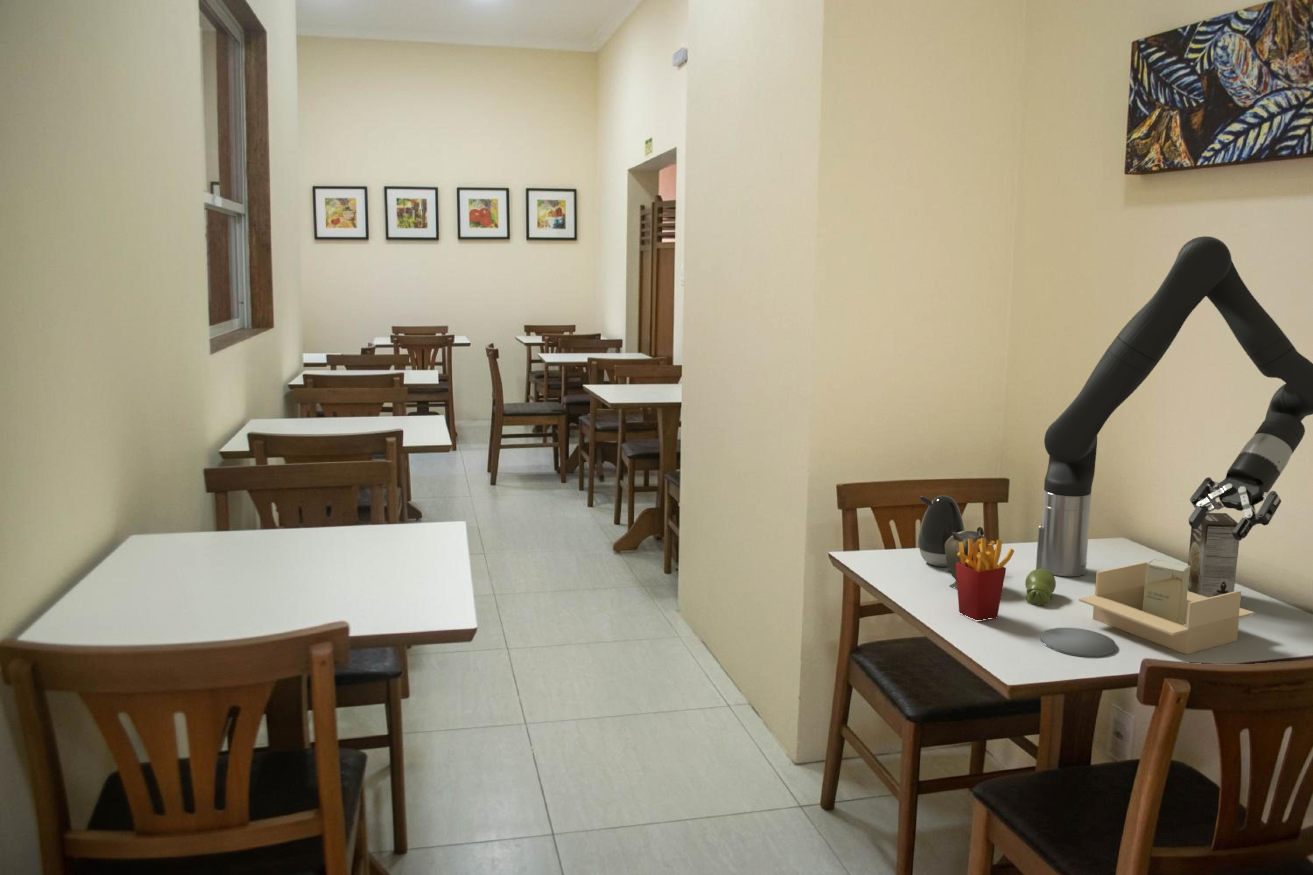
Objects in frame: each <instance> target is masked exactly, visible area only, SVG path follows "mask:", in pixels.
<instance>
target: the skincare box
mask: <svg viewBox="0 0 1313 875" xmlns="http://www.w3.org/2000/svg"><path fill="white" fill-rule="evenodd" d="M1190 567H1191V566H1188V564H1187V565H1186V564H1181V563H1177V562H1172V561H1167V560H1166V561H1165V560H1161V559H1157V558H1154V559H1152V560H1151V561H1149V562H1148V564H1147V573H1146V582H1145V591H1144V601H1143V609H1141V611H1143V612H1146V613H1149V614H1152V615H1155V616H1157V617H1160V618H1163V619H1166V620H1169V621H1171V622H1174V623H1177V624H1180V625H1183V626H1185V623H1184V618H1185V610H1186V601H1187V592H1188V584H1189V575H1190Z"/></svg>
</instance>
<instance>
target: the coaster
mask: <svg viewBox="0 0 1313 875" xmlns="http://www.w3.org/2000/svg"><path fill="white" fill-rule="evenodd" d="M1041 640H1042V641H1041ZM1040 641H1041V643H1042V642H1043V643H1045V644H1046V645H1047V646H1049V647H1051V648H1053V649H1055V650H1057V651H1056V652H1058V651H1060V652H1059V653H1061V652H1062V654H1065V653H1066V654H1065V655H1069V656H1074V657H1084V658H1099V657H1105V656H1109V655H1112V654H1113V653H1114V652H1116V647H1117V645H1116V642H1115V640H1114V639H1112V638H1111V637H1109V636H1108V635H1105V634H1104V633H1103V634H1102V633H1100V632H1098V631H1094V630H1089V629H1085V628H1079V627H1053V628H1049V629H1046V630H1045V631H1043V632H1042V633H1041V634H1040ZM1043 643H1042V644H1043ZM1047 646H1046V647H1047ZM1049 647H1048V648H1049ZM1053 649H1052V650H1053ZM1055 650H1054V651H1055Z"/></svg>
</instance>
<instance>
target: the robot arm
mask: <svg viewBox="0 0 1313 875" xmlns="http://www.w3.org/2000/svg"><path fill="white" fill-rule="evenodd" d="M1205 298H1208V300H1209V301H1210V302H1211V303H1212V304H1213V305H1214V306H1215V308H1216V310H1217V311H1218V312H1219V314H1220V315H1221V316H1222V318H1223V319H1224V320H1225V323H1226V324H1227V326H1229V328H1230V331H1231V332H1232V333H1233V335H1234V337H1235V339H1236V340H1237V341H1238V343H1239V345H1240V346H1241V348H1242V350H1243V351H1244V352H1245V354H1246V355H1247V356H1248V357H1249V359H1250V360H1251V361H1252V363H1253V364H1254V365H1255V367H1257V370H1259V372H1260V373H1261V374H1262V375H1263V376H1264V377H1267V378H1271V379H1272V378H1274V379H1279V380H1282V381H1283V382H1284V383H1285V384H1284V383H1283V385H1281V386H1280V387H1279V388H1278V389H1277V390H1276V391H1275V392H1274V394H1273V395H1272V397H1271V400H1270V402H1269V404H1268V408H1267V411H1266V414H1265V418H1264V420H1263V421H1262V423H1261V424H1260V425H1259V427H1258V428H1257V430H1256V431H1255V433H1254V434H1253V436H1252V437H1251V438H1250V439H1249V440H1248V441H1247V442H1246V444H1245V445H1244V447H1243V448H1242V450H1241V451H1240V452H1239V453H1238V455H1237V457H1236V458H1235V460H1234V461H1233V463H1231V465H1230V467H1229V468H1228V470H1227V471H1226V474H1225V475H1226V476H1225V478H1224V479H1223V480H1221V481H1220V482H1218V481H1214V480H1213V479H1212V478H1211V477H1206V478H1204V480H1203V481H1202V482H1201V484H1200V485H1199V486H1198V487H1197V489H1196V490H1195V491H1194V493H1193V494H1192V495H1191V496H1190V498H1189V501H1190V503H1191V504H1192V505H1193V507H1194V510H1193V511H1192V512H1191V515H1190V516H1189V517H1188V520H1187V521H1188V524H1189V526H1190V528H1191V527H1192V528H1193V529H1198V527H1199V526H1200V524H1201V523H1202V521H1203V520H1204V518H1205V517H1206V516H1207V513H1212V512H1213V511H1214V510H1217V511H1219V510H1221V509H1223V508H1226V509H1235V510H1236V511H1240V512H1242V511H1243V513H1244V517H1241V519H1240V520H1239V522H1237V523H1238V525H1237V526H1236V528H1235V529H1234V531H1233V532H1232V535H1233V537H1234V538H1235V539H1236V540H1239V542H1240V541H1242V540H1243V539H1244V538H1247V536H1248V534H1249V533H1250V531H1251V530H1252V529H1253V527H1254V526H1255V527H1256V525H1259V524H1260V525H1262V526H1267V525H1269V523H1270V522H1271V520H1272V518H1273V516H1274V515H1275V513H1276V512H1277V510H1278V508H1279V507H1280V504H1281V503H1282V500H1281V497H1280V496H1279V494H1278V493H1277V492H1276V490H1271V489H1272V488H1273V486H1274V485H1275V483H1276V482H1277V481H1278V479H1279V477H1280V476H1281V474H1282V473H1283V471H1284V470H1285V468H1286V467H1287V465H1288V463H1289V461H1290V459H1291V457H1292V456H1293V454H1294V452H1295V451H1296V449H1297V447H1298V446H1299V445H1300V443H1301V442H1302V440H1303V438H1304V436H1305V433H1306V427H1305V425H1304V424H1303V422H1302V421H1303V420H1304V418H1306V417H1309V416H1311V415H1313V362H1312V361H1311V360H1309V359H1308V358H1306V357H1305V356H1304V355H1303V354H1301V353H1300V352H1299V351H1298V350H1297V348H1296V347H1295V346H1294V344H1293V343H1292V342H1291V341H1290V339H1289V337H1288V336H1287V335H1286V334H1285V333H1284V332H1283V330H1282V329H1281V328H1280V326H1279V325H1278V324H1277V322H1275V320H1274V319H1273V317H1271V316H1270V315H1269V313H1268V312H1267V311H1266V310H1265V309H1264V307H1263V306H1262V305H1261V304H1260V302H1259V301H1258V300H1257V299H1256V298H1255V297H1254V295H1253V294H1252V293H1251V291H1250V290H1249V288H1248V287H1247V285H1246V284H1245V283H1244V281H1243V279H1242V277H1241V276H1240V273H1239V272H1238V270H1237V268H1236V267H1235V264H1234V263H1233V260H1232V253H1231V251H1230V249H1229V247H1228V246H1227V244H1225V243H1224V242H1223V241H1222V240H1220V239H1219V238H1217V237H1213V236H1209V235H1208V236H1207V235H1204V236H1199V237H1195V238H1193V239H1190V240H1188V241H1187V242H1185V243H1184V244H1183V245H1182V247H1181V249H1180V250H1179V251H1178V253H1177V256H1176V259H1175V261H1174V262H1173V265H1172V267H1171V268H1170V270H1169V272H1168V274H1167V275H1166V276H1165V278H1164V280H1163V281H1162V283H1161V284H1160V286H1159V288H1158V289H1157V291H1156V292H1155V293H1154V294H1153V295H1152V297H1151V298H1150V299H1149V300H1148V301H1147V302H1146V303H1145V305H1143V307H1141V309H1139V311H1137V312H1136V314H1134V315H1133V317H1132V318H1131V319H1130V320H1128V322H1127V323H1126V324H1125V326H1124V327H1122V329H1121V330H1120V331H1119V333H1118V334H1117V336H1116V337H1115V338H1114V339H1113V340H1112V342H1111V344H1109V346H1108V347H1107V349H1106V350H1105V352H1104V354H1102V357H1101V358H1100V359H1099V361H1098V362H1097V364H1096V366H1095V367H1094V369H1093V370H1092V372H1091V374H1090V375H1089V377H1088V379H1087V380H1086V382H1085V384H1084V385H1083V387H1082V389H1081V390H1080V392H1079V393H1078V394H1077V396H1076V397H1075V398H1074V400H1073V401H1072V402H1071V403H1070V404H1069V405H1068V406H1067V408H1066V409H1065V410H1064V411H1063V412H1062V413H1061V414H1060V415H1059V416H1058V417H1057V419H1055V421H1053V422H1052V423H1051V424H1050V425H1049V426H1048V428H1047V429H1046V431H1045V434H1044V441H1043V443H1044V448H1045V451H1046V452H1047V454H1048V456H1049V457H1048V465H1047V470H1046V474H1045V478H1044V484H1043V486H1044V487H1043V501H1042V502H1043V504H1042V505H1043V506H1042V517H1041V518H1042V519H1041V521H1042V522H1041V524H1040V525H1039V526H1038V530H1037V531H1038V532H1037V547H1036V562H1035V569H1045V570H1048V571H1049V572H1051V573H1052V574H1053V576H1054V575H1055V576H1061V577H1079V576H1080V577H1081V576H1083V575H1085V574H1086V572H1087V563H1088V562H1087V560H1088V558H1087V556H1088V545H1089V544H1088V543H1089V530H1090V519H1091V518H1090V517H1091V516H1090V515H1091V501H1092V500H1091V499H1092V487H1093V481H1094V479H1095V474H1096V473H1095V472H1096V471H1095V470H1096V460H1097V448H1098V434H1099V433H1100V431H1101V430H1102V428H1103V427H1104V425H1105V423H1106V422H1107V421H1108V419H1109V418H1110V417H1111V415H1113V413H1114V411H1116V410H1117V408H1118V407H1120V405H1122V404H1123V403H1124V402H1125V401H1126V400H1127V399H1128V398H1129V397H1130V396H1131V395H1132V394H1133V393H1134V392H1135V391H1136V390H1137V389H1138V388H1139V387H1140V385H1141V384H1143V382H1144V381H1145V380H1146V379H1147V378H1148V376H1149V375H1150V374H1151V373H1152V371H1153V370H1154V369H1155V368H1156V366H1158V363H1159V362H1160V361H1161V360H1162V358H1163V356H1164V355H1165V354H1166V353H1167V351H1168V349H1169V348H1170V347H1171V345H1172V343H1173V342H1174V341H1175V338H1176V337H1177V335H1178V334H1179V332H1180V331H1181V329H1182V327H1183V325H1184V324H1185V322H1186V321H1187V319H1188V317H1189V316H1190V315H1191V314H1192V312H1193V311H1194V309H1196V308H1197V307H1198V306H1199V304H1201V302H1202V301H1203V300H1204V299H1205ZM1218 498H1219V501H1217V499H1218ZM1261 502H1263V503H1262V504H1261V506H1260V507H1259V510H1258V511H1256V506H1255V505H1257V504H1260V503H1261Z"/></svg>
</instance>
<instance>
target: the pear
mask: <svg viewBox="0 0 1313 875" xmlns="http://www.w3.org/2000/svg"><path fill="white" fill-rule="evenodd" d="M1056 583H1057V581H1056V578H1055V576H1054V575H1053V574H1052V573H1051V572H1049V571H1048V570H1045V569H1036V568H1035V569H1034V570H1031V571H1030V572H1029V573H1028V575H1027V576H1026V578H1025V587H1026V590H1025V591H1026V593H1025V601H1026V602H1027V604H1030V603H1031V605H1036V604H1039V605H1038V606H1044V605H1045V606H1047V605H1049V604H1050V602H1051V595H1052V593H1054V591H1055V590H1056V586H1057V584H1056Z"/></svg>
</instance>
